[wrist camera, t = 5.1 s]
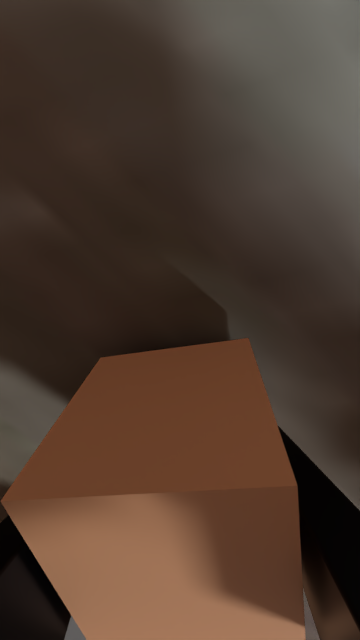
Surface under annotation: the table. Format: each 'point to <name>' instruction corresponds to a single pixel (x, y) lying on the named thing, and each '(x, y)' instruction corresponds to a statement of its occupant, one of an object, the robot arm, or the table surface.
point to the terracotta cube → (168, 501)
